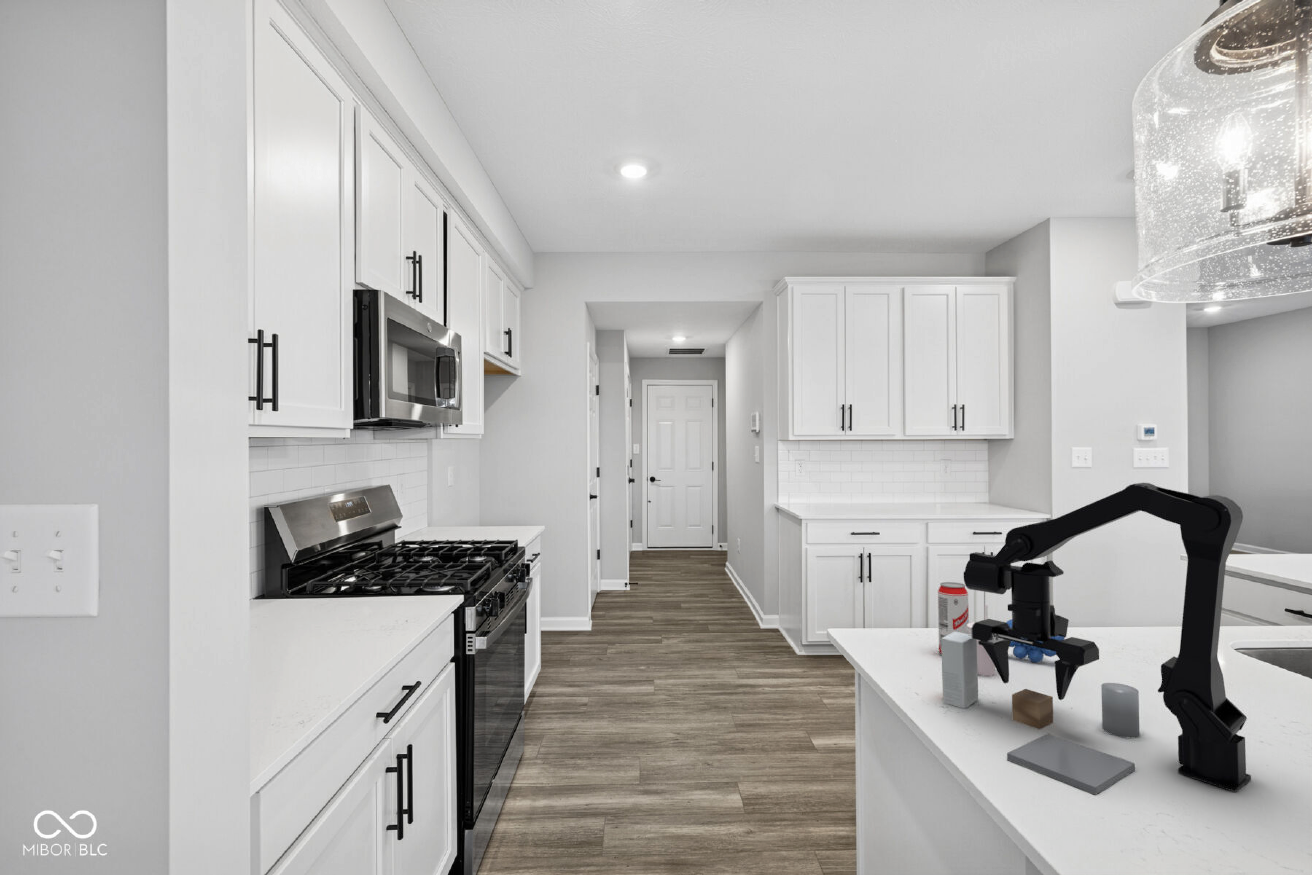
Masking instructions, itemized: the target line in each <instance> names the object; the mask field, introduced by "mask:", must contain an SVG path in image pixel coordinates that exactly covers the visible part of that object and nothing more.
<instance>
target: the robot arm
mask: <svg viewBox="0 0 1312 875" xmlns="http://www.w3.org/2000/svg"><path fill="white" fill-rule="evenodd" d="M1138 512H1144V513H1146V514H1149V515H1152V516H1154V517H1157V518H1159V519H1162V520H1164V521H1166V522H1170V523H1173V524H1176V525H1179V528H1180V535H1181V540H1182V544H1183V547H1184V550H1185V553H1186V557H1187V563H1186V565H1187V566H1186V576H1185V577H1186V578H1185V587H1184V600H1183V608H1182V609H1183V610H1182V620H1181V621H1182V622H1181V631H1180V643H1179V644H1180V645H1179V651H1178V655H1177V656H1172V657H1171V658H1169V659H1167V660H1166V661H1165V662H1163V663H1162V664H1161V665H1160V675H1161V676H1160V677H1161V683H1160V686H1159V688H1158V689H1157V693H1163V694H1162V699H1163V703H1164V706H1165V707H1166V708H1167V709H1168V710H1169V712H1171V714H1172V715H1173V716H1175V717H1176V719H1177V722H1178V724H1179V726H1180V728H1181V734H1179V735H1178V736H1177V746H1178V747H1177V748H1178V750H1177V753H1178V754H1177V755H1178V763H1179V765H1180V766H1179V767H1178V769H1177V773H1179V774H1181V775H1184V776H1187V777H1191V778H1192V779H1196V780H1199V781H1202V782H1205V783H1207V784H1211V785H1213V786H1217V787H1220V788H1222V789H1226V790H1229V791H1232V792H1237V791H1239V790H1240V789H1242V787H1243V786H1245V785H1246V784H1247V783H1248V782H1250V781H1251V780H1252V775H1250V774H1249V773H1247V760H1246V757H1247V754H1246V737H1245V736H1242V735H1239V734H1237V733H1239V731H1242V729H1243V727H1244V725H1245V723H1246V721H1247V719H1248V718H1247V716H1246V715H1245V714H1244V713H1243V712H1242V711H1241V710H1240V709H1239V708H1238V707H1237V706H1236V705H1235V704H1234V703H1233V702H1232V701H1230V700H1229V699H1228V697H1227V696H1226V687H1225V679H1224V674H1223V672H1222V668H1221V665H1220V662H1219V659H1218V658H1219V656H1218V653H1219V652H1218V650H1219V643H1220V642H1219V641H1220V640H1219V639H1220V630H1221V622H1222V621H1221V617H1222V611H1223V610H1222V607H1223V599H1224V588H1225V587H1224V586H1225V576H1226V575H1225V574H1226V565H1227V564H1226V563H1227V561H1228V558H1229V556H1230V553H1231V551H1232V549H1233V547H1234V545H1235V543H1236V541H1237V537H1238V534H1239V532H1240V529H1241V526H1242V524H1243V519H1244V515H1243V511H1242V508H1241V506H1239V505H1238V504H1237V503H1236V502H1235V501H1234V500H1232V499H1230V498H1229V497H1227V496H1222V495H1219V494H1215V495H1214V494H1210V495H1205V496H1198V495H1195V494H1192V493H1187V492H1183V491H1179V490H1174V489H1169V488H1164V487H1161V486H1156V485H1154V484H1153V483H1149V482H1138V483H1132V484H1129V485H1128V486H1127V485H1126V487H1125V488H1123V489H1122V490H1119V491H1117V492H1116V493H1113V494H1110V495H1108V496H1106V497H1103V498H1101V499H1098V500H1096V501H1094V502H1091V503H1089V504H1086V505H1084V506H1082V507H1080V508H1077V509H1075V510H1073V511H1070V512H1068V513H1065V514H1063V515H1061V516H1058V517H1056V518H1054V519H1053V518H1052V519H1048V520H1043V521H1040V522H1036V523H1030V524H1027V525H1022V526H1017V527H1014V528H1012V529H1010V530H1009V531H1008V532H1007V533H1006V536H1005V540H1004V541H1005V544H1004V545H1003V546H1002V548H1000V550H999V551H998V552H997V554H995V555H992V554H985V553H983V552H971V553H969V560H968V561H967V563H966V564H965V568H964V571H963V582H964V585H965V588H966V589H968V590H973V591H979V592H985V593H991V594H995V595H1004V594H1006V592H1007V590H1008V591H1009V590H1011V591H1010V592H1011V603H1008V604H1007V611H1009V612H1011V619H1012V628H1010V627H1009V625H1008V624H1007V623H1006V622H1007V621H1006V622H1005V621H1001V620H996V619H991V618H988V619H986V620H985V619H983V620H979V621H976V622H975V623H974V624H973V626H972V628H971V637H972V638H973V639H977V640H981V641H978V643H979V645H982V646H983V647H984V649H985V650H986V652H987V653H988V655H989V657H990V658H991V660H992V662H993V664H994V665H995V670H996V671H997V673H998V675H999V677H1000V680H1001V681H1002V683H1003V684H1008V683H1009V682H1010V665H1009V664H1010V663H1009V649H1010V647H1009V646H1010V643H1011V641H1014V642H1018V643H1022V644H1026V645H1031V646H1035V647H1039V648H1043V649H1047V650H1051V651H1055V652H1056V655H1055V656H1056V657H1057V658H1058V659H1057V660H1054V672H1055V685H1056V687H1055V688H1056V694H1057V699H1058V700H1060V701H1062V700H1064V699H1065V697H1066V695H1067V693H1068V689H1069V688H1070V685H1071V682H1072V680H1073V677H1074V675H1075V674H1076V672H1077V670H1078V669H1079V668H1080V667H1083V666H1086V665H1089V664H1091V663H1093V662H1096V661H1099V660H1100V648H1099V647H1098V645H1097V644H1096V642H1095V641H1091V640H1088V639H1083V638H1078V637H1073V636H1070V637H1068V638H1067V636H1068V635H1067V634H1068V627H1069V622H1070V620H1069V618H1066V617H1063V616H1061V615H1058V614H1056V609H1055V605H1054V604H1051V595H1050V594H1051V592H1050V591H1051V587H1050V582H1051V581H1050V578H1057V577H1059V576H1062V575H1064V574H1065V573H1064V570H1062V569H1061V568H1060V567H1059V566H1057V565H1056V563H1054V560H1048V561H1047V560H1046V561H1045V562H1044V563H1036V562H1035V563H1033V562H1028V561H1033V560H1036V559H1037V560H1038V559H1042V558H1045V557H1046V556H1049V555H1051V554H1052V553H1054V552H1055V551H1056V550H1057V551H1058V549H1060V548H1062V547H1063V546H1064V545H1066V544H1067V543H1068V542H1069V541H1071V540H1073V539H1075V538H1076V537H1078V536H1080V535H1084V534H1085V533H1088V532H1091V531H1093V530H1096V529H1098V528H1101V527H1103V526H1106V525H1108V524H1111V523H1113V522H1116V521H1118V520H1121V519H1124V518H1127V517H1129V516H1131V515H1133V514H1136V513H1138ZM1019 562H1025V563H1024V564H1022V566H1019V565H1013V564H1014V563H1019ZM1052 636H1053V637H1056V636H1061V637H1065V639H1064V640H1061V641H1059V640H1055V639H1051V637H1052ZM1024 638H1025V639H1024ZM1036 641H1040V642H1036ZM1041 642H1043V643H1041Z"/></svg>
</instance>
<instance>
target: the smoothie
mask: <svg viewBox="0 0 1312 875" xmlns="http://www.w3.org/2000/svg"><path fill="white" fill-rule="evenodd" d="M988 615H989V614H988V605H987V604H984V620H986V619H989V617H988ZM974 623H975V622H969V623H968V624H967V630H968V631H969V634H970V635H971V628H972V626H973V624H974ZM978 641H981V640H977V670H978V676H982V675H986V676H985V677H992V676H991V675H993V676H995V673H996V667H995V665H994V664H993V662H992V660H991V658H990V657H989V655H988V653H987V652H986V650H985V649H984V647H983V646H982V645H979V643H978Z"/></svg>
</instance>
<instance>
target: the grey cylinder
mask: <svg viewBox="0 0 1312 875" xmlns="http://www.w3.org/2000/svg"><path fill="white" fill-rule="evenodd" d="M1100 690H1101V723H1102V727H1101V728H1102V729H1104V730H1103V731H1104V732H1106V733H1108V734H1110V735H1113V736H1118V737H1120V738H1126V737H1130V738H1129V739H1132V738H1131V737H1135V738H1138V737H1140V734H1141V733H1140V700H1139V699H1140V693H1139V690H1138V689H1137V688H1135V687H1133V686H1130V685H1128V684H1124V683H1123V684H1122V683H1116V682H1105V683H1101V689H1100Z"/></svg>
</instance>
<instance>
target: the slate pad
mask: <svg viewBox="0 0 1312 875" xmlns="http://www.w3.org/2000/svg"><path fill="white" fill-rule="evenodd" d="M1006 759H1007V761H1009V762H1012V763H1015V764H1017V765H1019V766H1022V767H1024V768H1027V769H1029V770H1031V771H1034V772H1037V773H1039V774H1043V775H1045V776H1047V777H1048V778H1049V777H1050V778H1052V779H1055V780H1057V781H1059V782H1063V783H1065V784H1067V785H1069V786H1072V787H1074V788H1076V789H1080V790H1082V791H1084V792H1087V793H1090V794H1092V795H1095V796H1096V795H1098V794H1099V793H1101V792H1103V791H1104V790H1106V789H1107V788H1109V787H1111V786H1112V785H1113V784H1116V783H1117V782H1119V781H1120V780H1122V779H1124V778H1125V777H1127V776H1128V775H1129V773H1130V774H1131V773H1132V772H1135V771H1136V763H1135V762H1132V761H1129V760H1126V759H1124V758H1122V757H1117V756H1115V755H1112V754H1109V753H1106V752H1103V751H1100V750H1098V749H1095V748H1092V747H1089V746H1086V745H1083V744H1080V743H1077V742H1074V741H1072V740H1069V739H1066V738H1063V737H1060V736H1057V735H1054V734H1051V733H1049V732H1048V733H1046V734H1044V735H1041V736H1039V737H1037V738H1035V739H1033V740H1031V741H1029V742H1027V743H1025V744H1023V745H1021V746H1019V747H1017V748H1014V749H1011V751H1009V752H1006Z"/></svg>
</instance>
